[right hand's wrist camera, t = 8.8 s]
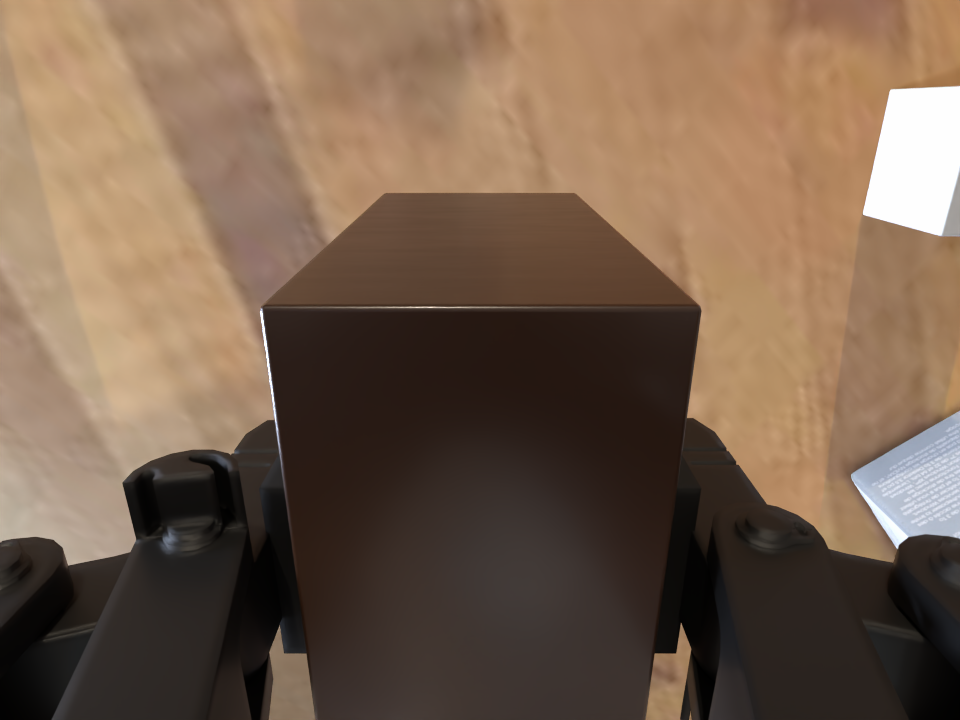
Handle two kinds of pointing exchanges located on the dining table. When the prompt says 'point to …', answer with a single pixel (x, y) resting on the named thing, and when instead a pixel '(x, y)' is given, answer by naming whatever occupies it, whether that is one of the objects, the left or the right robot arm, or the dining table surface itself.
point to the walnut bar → (480, 458)
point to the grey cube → (919, 161)
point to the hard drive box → (917, 484)
